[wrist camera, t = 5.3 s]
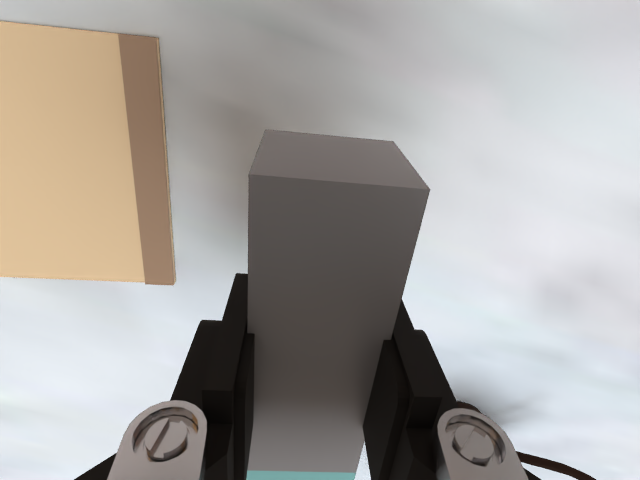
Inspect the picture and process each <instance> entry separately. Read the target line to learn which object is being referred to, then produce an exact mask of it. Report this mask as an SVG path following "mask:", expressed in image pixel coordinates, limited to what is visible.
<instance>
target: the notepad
mask: <svg viewBox="0 0 640 480" xmlns="http://www.w3.org/2000/svg"><path fill="white" fill-rule="evenodd" d="M0 277H20V278H46V279H71V280H97V281H122V282H145V284H153V285H174V283H175V282H176V277H175V263H174V249H173V235H172V221H171V207H170V193H169V178H168V164H167V150H166V136H165V122H164V108H163V94H162V80H161V66H160V52H159V38H155V37H146V36H137V35H127V34H116V33H107V32H97V31H88V30H78V29H69V28H60V27H50V26H41V25H31V24H22V23H13V22H3V21H0Z"/></svg>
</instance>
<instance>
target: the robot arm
mask: <svg viewBox="0 0 640 480" xmlns="http://www.w3.org/2000/svg"><path fill="white" fill-rule="evenodd" d="M247 323H248V274H241V273H236V275H235V278H234V282H233V285H232V289H231V292H230V295H229V299H228V302H227V305H226V309H225V312H224V316H223V319H222V321H216V320H202V321H200V324H199V326H198V328H197V331H196V334H195V336H194V339H193V341H192V344H191V347H190V349H189V352H188V355H187V357H186V360H185V363H184V365H183V368H182V371H181V373H180V376H179V378H178V381H177V384H176V386H175V389H174V392H173V394H172V397H171V400H170V401H166V402H161V403H159V404H156V405H154V406H151V407H149V408H148V409H146V410H145V411H143V412H142V413H140V414H139V415H138V416H137V417H136V418H135V419H134V420H133V421H132V422H131V423H130V424H129V426H128V428H127V430H126V432H125V433H124V435H123V438H122V441H121V443H120V446H119V449H118V452H117V453H116V454H114V455H112V456H111V457H109V458H108V459H106V460H104V461H103V462H101V463H100V464H98V465H97V466H95V467H93V468H92V469H90V470H89V471H87V472H85V473H84V474H82V475H81V476H79V477H77V478H76V479H74V480H246V477H247V470H248V462H249V454H250V446H251V438H252V431H253V415H254V352H255V334H253V333H247ZM363 433H364V439H365V445H366V451H367V457H368V463H369V469H370V475H371V480H541V479H539V478H538V477H536V476H535V475H533V474H532V473H530V472H529V471H527V470H526V469H525V468H523V466H522V464H521V462H520V460H519V458H518V456H517V453H516V451H515V449H514V447H513V445H512V443H511V441H510V439H509V438H508V436H507V435H506V433H505V432H504V431H503V430H502V429H501V428H500V427H499V425H498V424H497V423H495V422H494V421H493V420H491V419H490V418H488V417H487V416H485V415H483V414H481V413H479V412H476V411H474V410H469V409H465V408H459V406H458V404H457V402H456V399H455V397H454V395H453V393H452V390H451V388H450V386H449V384H448V382H447V379H446V377H445V375H444V373H443V371H442V368H441V366H440V364H439V362H438V359H437V357H436V355H435V353H434V351H433V348H432V346H431V344H430V342H429V339H428V337H427V335H426V334H425V332H424V331H423V330H414V327H413V325H412V323H411V320H410V318H409V315H408V313H407V311H406V308H405V306H404V303H403V301H402V299H401V302H400V306H399V310H398V314H397V318H396V322H395V325H394V329H393V333H392V337H391V340H384V341H383V345H382V349H381V353H380V357H379V361H378V365H377V369H376V373H375V378H374V382H373V386H372V390H371V394H370V398H369V402H368V406H367V410H366V414H365V419H364V423H363Z"/></svg>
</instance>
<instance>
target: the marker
mask: <svg viewBox="0 0 640 480" xmlns="http://www.w3.org/2000/svg"><path fill="white" fill-rule="evenodd" d="M429 192H430V189H429V187H428V186H427V185H426V183H425V182H424V181H423V180H422V178H421V177H420V176H419V174H418V173H417V172H416V170H415V169H414V168H413V166H412V165H411V164H410V163H409V161H408V160H407V159H406V157H405V156H404V155H403V153H402V152H401V151H400V149H399V148H398V147H397V146H396V144H395V143H394V142H393V141H383V140H372V139H362V138H351V137H340V136H330V135H319V134H308V133H298V132H287V131H276V130H265V133H264V135H263V138H262V141H261V143H260V146H259V148H258V151H257V154H256V156H255V159H254V162H253V164H252V167H251V170H250V172H249V206H248V323H247V333H253V334H255V352H254V415H253V431H252V438H251V446H250V454H249V462H248V470H247V477H246V480H354V478H355V474H356V470H357V467H358V463H359V459H360V455H361V451H362V448H363V444H364V440H365V439H364V433H363V423H364V419H365V414H366V410H367V406H368V402H369V398H370V394H371V390H372V386H373V382H374V378H375V373H376V369H377V365H378V361H379V357H380V353H381V349H382V345H383V341H384V340H391V337H392V333H393V329H394V325H395V322H396V318H397V314H398V310H399V306H400V302H401V299H402V295H403V291H404V287H405V283H406V280H407V276H408V272H409V268H410V264H411V260H412V257H413V253H414V249H415V245H416V241H417V238H418V234H419V230H420V226H421V222H422V218H423V215H424V211H425V207H426V203H427V199H428V196H429Z"/></svg>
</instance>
